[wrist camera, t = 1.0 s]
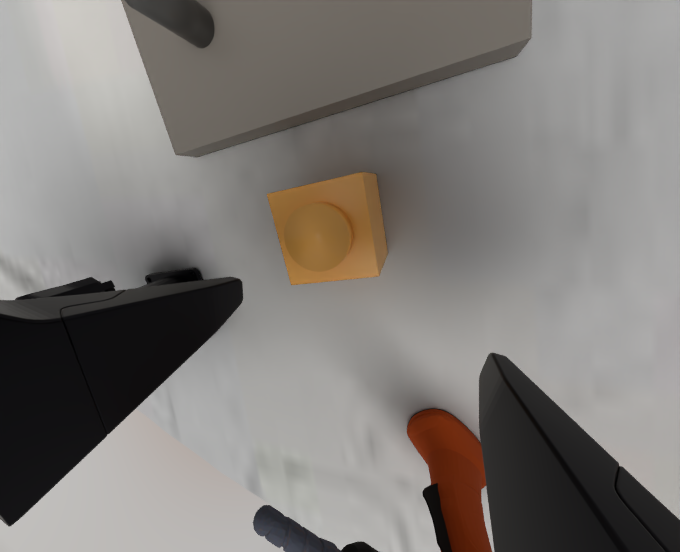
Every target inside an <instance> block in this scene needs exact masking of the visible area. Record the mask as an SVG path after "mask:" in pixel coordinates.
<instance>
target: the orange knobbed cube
mask: <svg viewBox="0 0 680 552" xmlns="http://www.w3.org/2000/svg"><path fill="white" fill-rule="evenodd" d="M267 197H268V200H269V204H270V208H271V212H272V215H273V219H274V223H275V227H276V230H277V234H278V238H279V241H280V245H281V249H282V253H283V256H284V260H285V264H286V267H287V271H288V275H289V279H290V282H291V285H298V284H308V283H318V282H328V281H338V280H348V279H358V278H368V277H378V276H379V275H380V273H381V270H382V268H383V265H384V263H385V260H386V257H387V255H388V250H387V244H386V237H385V230H384V223H383V217H382V210H381V203H380V196H379V190H378V183H377V176H376V174H373V173H366V172H360V173H355V174H351V175H347V176H343V177H338V178H334V179H330V180H325V181H321V182H317V183H312V184H308V185H304V186H299V187H295V188H291V189H287V190H282V191H278V192H274V193H269V194H267Z"/></svg>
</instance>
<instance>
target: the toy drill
mask: <svg viewBox="0 0 680 552" xmlns="http://www.w3.org/2000/svg"><path fill="white" fill-rule="evenodd" d="M407 434H408V437H409V438H410V440H411V442H412V443H413V445H414V446H415V448H416V449H417V450H418V452H419V453H420V455H421V456H422V457H423V459H424V460H425V462H426V463H427V464H428V467H429V472H430V478H431V485H430V486H428V487H426V488H425V489H424V490H423V497H424V499H425V500H426V503H427V505H428V508H429V511H430V514H431V517H432V520H433V524H434V528H435V533H436V539H437V543H438V545H439V547H440V550H441V552H492V550H491V546H490V542H489V538H488V534H487V531H486V527H485V522H484V515H483V508H482V503H481V489H482V488H484V487H485V486H486V479H485V471H484V463H483V455H482V447H481V443H480V442H479V441H478V439H477V438H476V437H475V436H474V435H473V433H472V432H471V431H470V430H469V429H468V428H467V427H466V426H465V425H464V424H463V423H462V422H460V421H459V420H458V419H457V418H456V417H454V416H452V415H451V414H449V413H447V412H445V411H442V410H438V409H428V410H424V411H421V412H419V413H417V414H416V415H414V416H413V417H412V418H411V420H410V422H409V424H408V426H407ZM253 525H254V530H255V531H256V533H257V534H258V535H260V536H265V538H266V539H267V540H268V541H269V542H271V543H272V544H274V545H275V546H277V547H279V548H280V547H281V546H282V547H283V548H284V549H283V550H284V551H285V552H378V551H377V550H375V549H374V548H372V547H371V546H369V545H368V544H366V543H365V542H355V543H352V544H348V545H346V546H345V547H344V548H343V549H342V550H341V551H340V550H339V549H337V547H336V545H335V544H334V543H332V542H329V541H327V540H324V539H322V538H318V537H317V536H316V535H315V534H313V533H312V532H310V531H309V530H307V529H306V528H304V527H302V526H301V525H300V524H298V523H297V522H295V521H294V520H292V519H290V518H289V517H285V516H284V515H283V514H282V513H281V512H279V511H278V510H276V509H275V508H273V507H272V506H270V505H264V506H262V507H261V508H260V509H259V510H258V511H257V512H256V514H255V517H254V521H253Z"/></svg>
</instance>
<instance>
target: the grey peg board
mask: <svg viewBox="0 0 680 552" xmlns="http://www.w3.org/2000/svg"><path fill="white" fill-rule="evenodd" d="M121 1H122V4H123V7H124V10H125V12H126V15H127V18H128V21H129V24H130V27H131V29H132V32H133V35H134V38H135V41H136V44H137V46H138V49H139V52H140V55H141V58H142V61H143V64H144V66H145V69H146V72H147V75H148V78H149V81H150V83H151V86H152V89H153V92H154V95H155V98H156V101H157V103H158V106H159V109H160V112H161V115H162V118H163V120H164V123H165V126H166V129H167V132H168V135H169V137H170V140H171V143H172V146H173V149H174V152H175V155H180V156H190V157H199V156H202V155H205V154H208V153H212V152H215V151H218V150H221V149H224V148H227V147H231V146H234V145H237V144H240V143H243V142H246V141H250V140H253V139H256V138H259V137H262V136H265V135H269V134H272V133H275V132H278V131H281V130H284V129H288V128H291V127H294V126H297V125H300V124H303V123H307V122H310V121H313V120H316V119H319V118H322V117H326V116H329V115H332V114H335V113H338V112H342V111H345V110H348V109H351V108H354V107H357V106H361V105H364V104H367V103H370V102H373V101H376V100H380V99H383V98H386V97H389V96H392V95H395V94H399V93H402V92H405V91H408V90H411V89H414V88H418V87H421V86H424V85H427V84H430V83H433V82H437V81H440V80H443V79H446V78H449V77H452V76H456V75H459V74H462V73H465V72H468V71H471V70H475V69H478V68H481V67H484V66H487V65H490V64H494V63H497V62H500V61H503V60H506V59H510V58H513V57H516V56H517V55H518V54H519V53H520V51H521V50H522V49H523V48H524V46H525V45H526V44H527V43H528V41H529V40H530V39H531V30H532V0H121Z"/></svg>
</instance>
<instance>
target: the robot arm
mask: <svg viewBox="0 0 680 552" xmlns="http://www.w3.org/2000/svg"><path fill="white" fill-rule="evenodd" d="M145 280H146V282H147V285H144V286H142V287H139V288H135V289H128V290H118V291H116V290H115V289H114V287H115V286H114V284H113V282H112V281H111V280H110V281H107V282H104V283H101V282H100V281H97V280H95V279H94V278H92V277H90V278H87V279H83V280H80V281H76V282H73V283H70V284H66V285H63V286H59V287H55V288H51V289H47V290H43V291H39V292H35V293H31V294H27V295H24V296H21V297H18V298H16V299H15V300H0V519H1V520H2V521H3V522H4V523H5V524H7V525H8V526H11V525H13V524H14V523H15V522H16V521H18V520H19V519H20V518H21V517H22V516H23V515H24V514H25V513H26V512H28V510H29V509H30V508H32V507H33V506H34V505H35V504H36V503H37V502H38V501H39V500H40V499H41V498H42V497H43V496H44V495H45V494H46V493H48V492H49V491H50V490H51V489H52V488H53V487H54V486H55V485H56V484H57V483H58V482H59V481H60V480H61V479H62V478H63V477H64V476H65V475H66V474H68V473H69V471H70V470H72V469H73V468H74V467H75V466H76V465H77V464H78V463H79V462H80V461H81V460H82V459H83V458H84V457H85V456H86V455H87V454H89V453H90V452H91V451H92V450H93V449H94V448H95V447H96V446H97V445H98V444H99V443H100V442H101V441H102V440H103V439H104V438H105V437H106V436H107V434H109V433H110V432H111V431H112V430H113V429H115V427H117V426H118V425H119V424H120V423H121V422H122V421H123V420H124V419H125V418H126V417H127V416H128V415H129V414H130V413H131V412H133V410H135V409H136V408H137V407H138V406H139V405H140V404H141V403H142V402H143V401H144V400H145V399H146V398H147V397H148V396H149V395H150V394H151V393H153V392H154V391H155V390H156V389H157V388H158V387H159V386H160V385H161V384H162V383H163V382H164V381H165V380H166V379H167V378H168V377H169V376H170V375H172V374H173V373H174V372H175V371H176V370H177V369H178V368H179V367H180V366H181V365H182V364H183V363H184V362H185V361H186V360H187V359H188V358H189V357H190V356H192V355H193V354H194V353H195V352H196V351H197V350H198V349H199V348H200V347H201V346H202V345H203V344H204V343H205V342H206V341H207V340H208V339H209V338H211V337H212V336H213V335H214V334H215V333H216V332H217V331H218V329H219V328H220V327H221V326H222V325H223V324H224V323H225V322H226V320H227V319H228V318H229V317H230V316H231V315H232V314H233V312H234V311H235V310H236V309H237V308H238V307H239V306H240V304H241V303H242V300H243V288H242V281H241V280H240V279H237V278H234V277H226V278H217V279H209V280H202V279H201V276H200V274H199V271H198V270H197V269H196V268H189V269H182V270H175V271H168V272H161V273H154V274H149V275H147V276H146V277H145ZM479 429H480V439H481V447H482V455H483V463H484V471H485V479H486V487H487V495H488V503H489V511H490V519H491V527H492V534H493V542H494V550H495V552H680V520H679V519H678V518H677V517H676V516H675V515H674V514H673V513H671V512H670V511H669V510H668V509H667V508H666V507H665V506H664V505H663V504H662V503H661V502H660V501H658V500H657V499H656V498H655V497H654V496H653V495H652V494H651V493H650V492H649V491H648V490H647V489H645V488H644V487H643V486H642V485H641V484H640V483H639V482H638V481H637V480H636V479H635V478H634V477H633V476H632V475H631V474H630V473H629V472H628V471H627V470H625V469H624V468H623V467H621V466H619V463H618V462H617V461H616V460H615V459H614V458H613V457H612V456H611V455H609V454H608V453H607V452H606V451H605V450H604V449H603V448H602V447H601V446H600V445H599V444H598V443H597V442H596V441H595V440H594V439H593V438H592V437H590V436H589V435H588V434H587V433H586V432H585V431H584V430H583V429H582V428H581V427H580V426H579V425H578V424H577V423H576V422H575V421H574V420H573V419H571V418H570V417H569V416H568V415H567V414H566V413H565V412H564V411H563V410H562V409H561V408H560V407H559V406H558V405H557V404H556V403H555V402H554V401H552V400H551V399H550V398H549V397H548V396H547V395H546V394H545V393H544V392H543V391H542V390H541V389H540V388H539V387H538V386H537V385H536V384H535V383H533V382H532V381H531V380H530V379H529V378H528V377H527V376H526V375H525V374H524V373H523V372H522V371H521V370H520V369H519V368H518V367H517V366H516V365H514V364H513V363H512V362H511V361H510V360H509V359H508V358H507V357H506V356H503V355H499V354H496V353H490V354H489V355H488V357H487V359H486V362H485V364H484V366H483V369H482V371H481V373H480V377H479Z"/></svg>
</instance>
